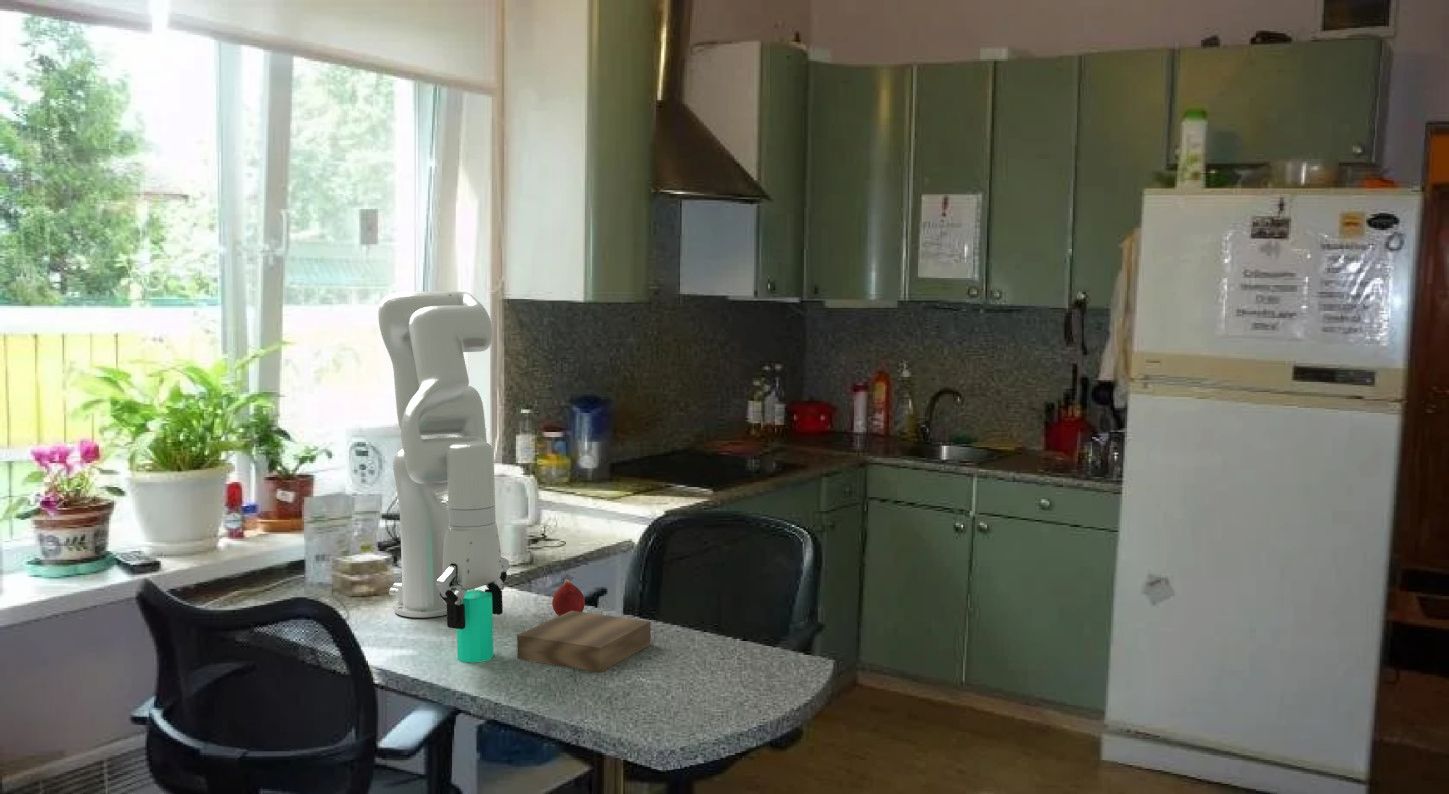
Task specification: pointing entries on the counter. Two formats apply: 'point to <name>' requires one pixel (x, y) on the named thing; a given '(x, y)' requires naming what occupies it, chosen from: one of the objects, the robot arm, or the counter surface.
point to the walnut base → (584, 640)
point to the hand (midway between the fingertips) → (475, 620)
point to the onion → (568, 599)
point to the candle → (476, 628)
